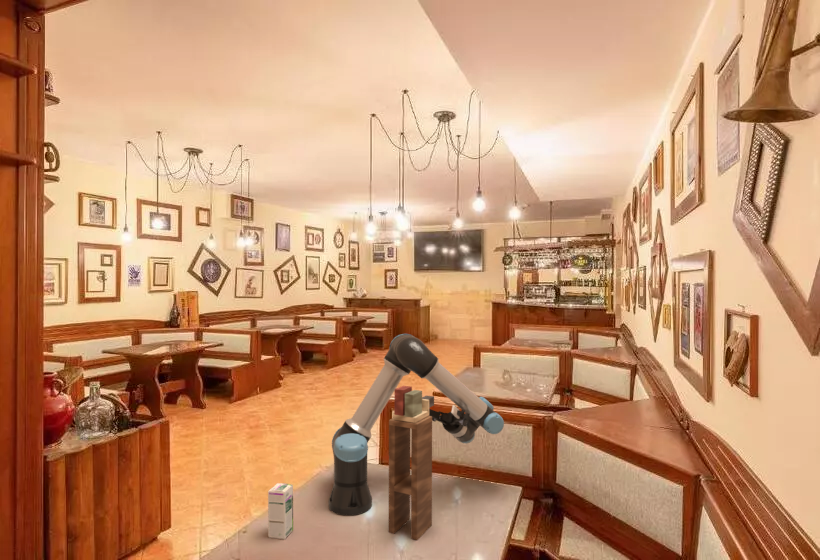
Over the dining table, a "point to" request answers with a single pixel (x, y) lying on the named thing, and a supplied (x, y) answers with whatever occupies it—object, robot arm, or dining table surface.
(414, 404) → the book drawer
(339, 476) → the robot arm
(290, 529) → the syrup box
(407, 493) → the walnut shelf
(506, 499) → the dining table surface
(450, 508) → the dining table surface
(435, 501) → the dining table surface
